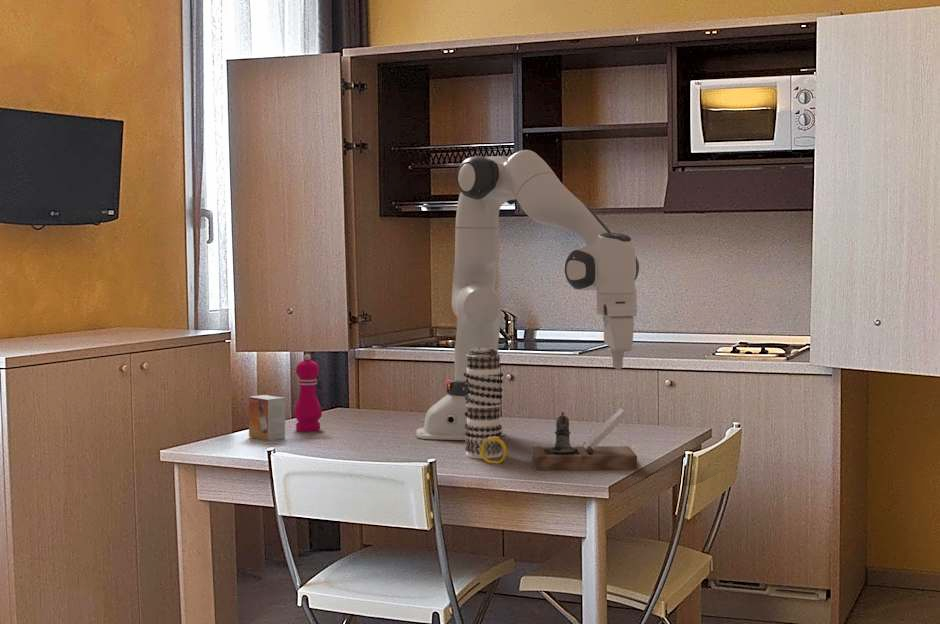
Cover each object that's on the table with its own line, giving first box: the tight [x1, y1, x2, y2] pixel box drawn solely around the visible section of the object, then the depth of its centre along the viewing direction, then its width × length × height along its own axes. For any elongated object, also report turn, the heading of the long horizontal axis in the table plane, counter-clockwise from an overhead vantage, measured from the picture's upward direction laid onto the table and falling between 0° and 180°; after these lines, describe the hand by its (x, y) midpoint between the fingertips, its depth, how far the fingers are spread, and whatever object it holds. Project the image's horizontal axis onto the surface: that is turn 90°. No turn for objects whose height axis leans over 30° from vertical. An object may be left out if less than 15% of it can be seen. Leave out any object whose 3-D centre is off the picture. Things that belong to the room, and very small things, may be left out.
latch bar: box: [582, 407, 628, 450], centre depth 269 cm, size 12×5×1 cm
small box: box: [248, 394, 286, 442], centre depth 305 cm, size 8×6×10 cm
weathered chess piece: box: [549, 411, 576, 455], centre depth 268 cm, size 6×6×12 cm
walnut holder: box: [532, 441, 638, 471], centre depth 270 cm, size 22×12×4 cm, turn 91°
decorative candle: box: [464, 348, 504, 460], centre depth 281 cm, size 9×9×25 cm
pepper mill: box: [293, 353, 323, 433], centre depth 317 cm, size 7×7×20 cm
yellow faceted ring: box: [481, 436, 508, 464], centre depth 272 cm, size 6×3×6 cm, turn 66°
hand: (617, 368), depth 268 cm, fingers closed
